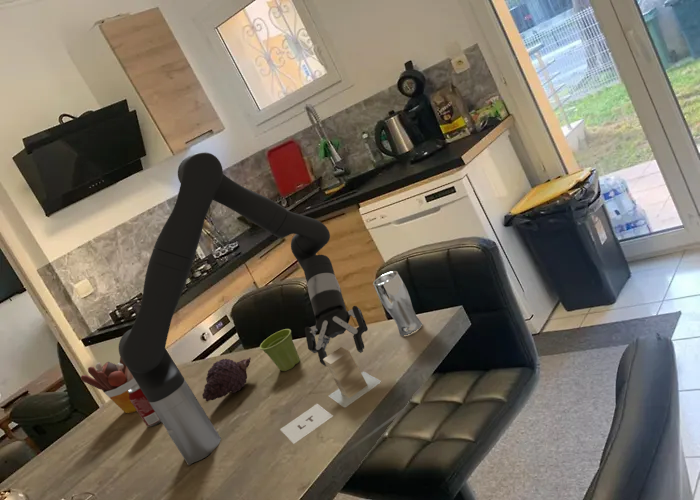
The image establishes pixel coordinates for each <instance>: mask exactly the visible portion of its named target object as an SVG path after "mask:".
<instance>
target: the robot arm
mask: <svg viewBox="0 0 700 500" xmlns="http://www.w3.org/2000/svg"><path fill="white" fill-rule="evenodd" d="M177 178H178V179H177V180H178V182H179V183H180V185H179V186H180V187H179V191H178V194H177V198H176V202H175V204H174V206H173V209H172V210H171V213H170V215H169V217H168V218H167V220H166V222H165V224H164V225H163V227H162V229H161V231H160V233H159V235H158V237H157V239H156V241H155V243H154V246H153V249H152V252H151V255H150V257H149V260H148V265H147V268H146V273H145V278H144V283H143V284H144V285H143V291H142V298H141V303H140V306H139V311H138V312H137V316H136V317H135V321H134V322H133V325H132V327H131V329H128V330H127V331H126V332H124V333H123V335H122V336H121V338H120V340H119V343H118V353H119V357H121V359H122V361H123V362H124V364H125V365H126V366H127V368H128V369H129V371H130V373H131V374H132V376H133V377H134V379H135V380H136V382H137V384H138V385H139V387H140V389H141V390H142V392H143V394H144V395H145V397H146V398H147V400H148V401H149V403H150V404H151V406H152V407H153V409H154V411H155V412H156V414H157V415H158V417H159V419H160V420H161V423H162V424H163V427H164V428H165V429H166V432H167V434H168V435H169V438H170V439H171V440H172V442H173V444H174V445H175V447H176V448H177V449H178V451H179V452H180V454H181V456H182V457H183V459H184V460H185V462H186V463H187V465H188V466H190V465H192V464H193V463H196V462H199V461H201V460H203V459H204V458H206V457H207V456H209V455H211V454H212V452H213V451H214V450H215V449H216V448H217V447H218V446H219V444H220V443H221V440H222V438H221V435H220V434H219V433H218V431H217V430H216V428H215V426H214V424H213V423H212V422H211V419H210V418H209V416H208V414H207V413H206V411H205V410H204V408H203V407H202V404H200V402H199V400H198V398H197V397H196V395H195V393H194V392H193V390H192V389H191V387H190V386H189V383H188V382H187V380H186V379H185V377H184V375H183V374H182V372H181V370H180V369H179V368H178V366H177V365H176V363H175V362H174V360H173V359H172V357H171V356H170V354H169V352H168V351H167V349H166V347H167V346H166V344H167V341H168V336H169V332H170V327H171V323H172V319H173V316H174V313H175V311H176V308H177V307H178V306H177V305H178V303H179V301H180V299H181V296H182V294H183V291H184V288H185V286H186V283H187V281H188V278H189V275H190V273H191V271H192V270H191V269H192V266H193V264H194V260H195V257H196V254H197V251H198V246H199V243H200V240H201V236H202V232H203V228H204V224H205V221H206V217H207V214H208V212H209V210H210V208H211V205H212V202H213V201H214V202H217V203H218V204H219V205H220V204H221V205H222V206H224V207H226V208H228V209H230V210H232V211H234V212H235V213H237V214H239V215H241V216H242V217H244V218H245V219H247V220H249V221H250V222H252V223H254V224H255V225H256V226H258V227H260V228H261V229H263V230H265V231H266V232H268V233H269V234H271V235H274V237H276V238H279V239H283V238H285V237H287V236H289V235H292V234H293V235H294V236H293V237H292V238H291V241H290V251H291V252H292V254H293V256H294V258H295V259H296V261H297V262H298V264H299V266H300V267H301V269H302V270H303V273H304V277H305V280H306V284H307V291H308V295H309V300H310V303H311V307H312V311H313V314H314V318H315V325H313V326H311V327H309V326H305V327H304V334H305V338H306V339H305V340H306V343H307V344H306V345H307V349H308V350H309V351H310V352H312V353H313V354H316V353H317V355H318V359H319V362H320V364H321V365H322V366H325V367H326V368H327V366H326V364H325V362H324V360H323V359H324V358H325V357H327V356H328V354H327V351H326V348H327V345H328V344H329V343H330V340H331V339H334V338H336V337H337V336H339V335H344V334H345V332H346V331H347V332H349V333H351V334H353V335H352V338H353V341H354V344H355V347H356V350H357V352H358V353H360V354H361V353H363V352H364V349H365V343H364V340H363V337H362V335H363V334H364V333H366V332H367V331H368V329H369V328H368V325H367V323H366V320H365V317H364V315H363V312H362V309H360V308H359V307H358V306H357V305H353V306H352V309H350V310H347V307H346V304H345V301H344V297H343V294H342V288H341V287H340V284H339V281H338V279H337V278H336V274H335V271H334V267H333V265H332V261H331V259H330V257H329V256H327V255H325V254H318V252H320V251H321V250H322V249H323V248H324V247H325V246H326V245H328V243H329V241H330V238H331V234H330V231H329V229H328V227H327V226H326V224H324V223H322V221H319V220H318V219H315V218H312V217H309V216H306V215H302V214H300V213H295V212H292V211H290V210H288V209H287V208H285V207H283V206H282V205H281V204H279V203H277V202H276V201H274V200H272V199H270V198H269V197H266V196H264V195H262V194H260V193H258V192H255V191H253V190H250V189H249V188H247V187H244V186H243V185H241V184H239V183H237V182H235V181H234V180H232V179H231V178H230V177H228V176H227V175H225V174H224V170H223V166H222V163H221V162H220V160H219V158H218V157H216V155H214V154H212V153H210V152H207V151H205V152H203V151H202V152H201V151H200V152H196V153H193V154H191V155H188V156H187V157H185V158H184V159H182V160H181V162H180V163H179V165H178V168H177ZM351 316H352V317H353V318H355V320H356V322H357V324H358V327H357V328H356V327H354V326H352V325H351V324H349V323H350V319H351ZM318 331H319V334H318V337H317V341H316V338H315V337H316V336H317V332H318Z"/></svg>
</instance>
